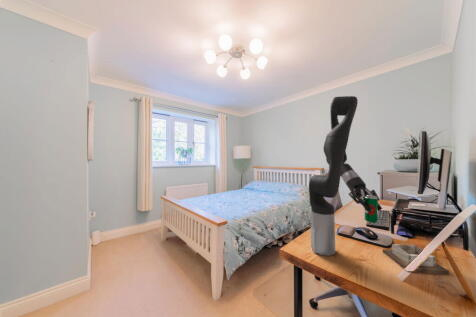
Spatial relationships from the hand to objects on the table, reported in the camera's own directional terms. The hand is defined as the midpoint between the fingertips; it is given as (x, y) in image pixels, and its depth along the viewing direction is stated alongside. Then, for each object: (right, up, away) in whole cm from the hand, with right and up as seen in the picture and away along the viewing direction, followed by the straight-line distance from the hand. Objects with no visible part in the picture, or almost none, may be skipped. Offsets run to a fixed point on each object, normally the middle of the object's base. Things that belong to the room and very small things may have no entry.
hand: (374, 210), depth 81 cm
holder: (+5, -17, -12) cm, 21 cm away
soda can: (0, -6, +2) cm, 6 cm away
